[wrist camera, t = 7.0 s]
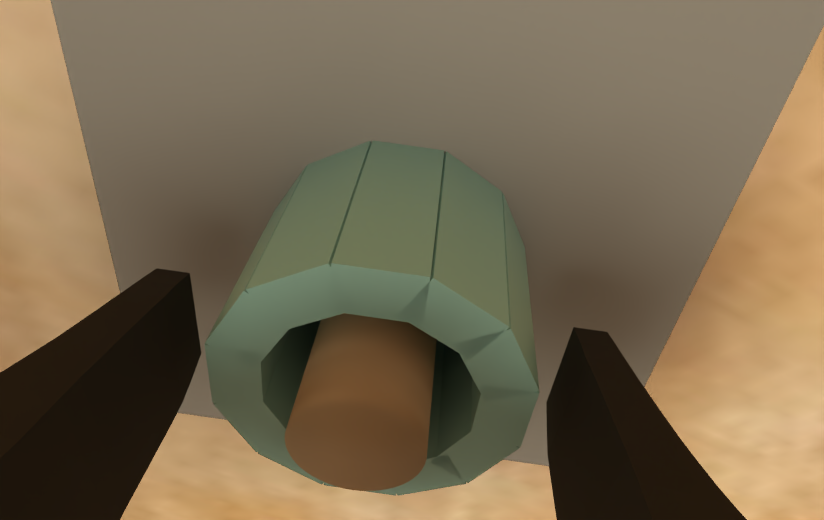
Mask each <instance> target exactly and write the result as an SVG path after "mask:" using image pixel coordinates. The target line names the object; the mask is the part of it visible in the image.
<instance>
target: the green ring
mask: <svg viewBox="0 0 824 520" xmlns="http://www.w3.org/2000/svg"><path fill="white" fill-rule="evenodd" d="M343 313H346V314H353V315H360V316H367V317H374V318H381V319H388V320H395V321H402V322H409V323H410V324H412V325H414V326H415V327H417V328H419V329H420V330H422V331H424V332H425V333H427V334H428V335H430V336H432V337H433V338H435V339H437V342H436V354H435V366H434V377H433V389H432V401H431V413H430V425H429V436H428V448H427V459H426V462H425V465H424V467H423V469H422V470H421V471H420V473H419V474H418V475H417V476H416V477H414V478H413V479H412V480H410V481H409V482H407V483H405V484H403V485H400V486H397V487H394V488H390V489H386V490H378V491H368V492H375V493H382V494H389V495H396V494H397V495H404V494H410V493H415V492H421V491H427V490H432V489H438V488H444V487H450V486H455V485H461V484H466V482H467V483H469V482H470V481H472V480H473V479H475V478H476V477H478V476H479V475H481V474H482V473H484V472H485V471H487V470H488V469H489V468H491V467H492V466H494V465H495V464H497V463H498V462H500V461H501V460H503V459H504V458H506V457H507V456H509V455H510V454H512V453H513V452H515V451H516V450H518V449H519V447H521V444H522V442H523V439H524V436H525V433H526V430H527V427H528V424H529V421H530V419H531V416H532V413H533V410H534V407H535V404H536V401H537V398H538V396H539V382H538V372H537V363H536V353H535V343H534V333H533V323H532V313H531V304H530V294H529V284H528V274H527V264H526V254H525V246H524V244H523V241H522V239H521V236H520V234H519V231H518V229H517V226H516V224H515V221H514V219H513V216H512V214H511V211H510V209H509V206H508V204H507V201H506V199H505V196H504V194H503V193H502V191H501V190H499V189H498V188H497V187H495V186H494V185H492V184H491V183H490V182H488V181H487V180H486V179H484V178H483V177H481V176H480V175H479V174H477V173H476V172H475V171H473V170H472V169H470V168H469V167H468V166H466V165H465V164H464V163H462V162H461V161H459V160H458V159H457V158H455V157H454V156H452V155H451V154H450V153H448V152H447V151H446V153H445V154H444V150H438V149H431V148H424V147H416V146H409V145H402V144H395V143H388V142H381V141H372V143H371V141H368V142H365V143H363V144H360V145H357V146H355V147H352V148H350V149H347V150H344V151H342V152H339V153H336V154H334V155H331V156H328V157H326V158H323V159H321V160H318V161H315V162H313V163H310V164H308V165H306V167H305V168H304V170H303V171H302V173H301V174H300V175H299V177H298V178H297V180H296V181H295V182H294V184H293V185H292V187H291V188H290V189H289V191H288V192H287V194H286V195H285V197H284V198H283V199H282V201H281V202H280V204H279V205H278V206H277V208H276V209H275V211H274V212H273V214H272V216H271V218H270V220H269V222H268V224H267V226H266V228H265V229H264V231H263V233H262V235H261V237H260V239H259V241H258V243H257V245H256V247H255V248H254V250H253V252H252V254H251V256H250V258H249V260H248V262H247V264H246V266H245V268H244V269H243V271H242V273H241V275H240V277H239V279H238V281H237V283H236V285H235V287H234V288H233V290H232V292H231V294H230V296H229V298H228V300H227V302H226V304H225V306H224V307H223V309H222V311H221V313H220V315H219V317H218V319H217V321H216V323H215V325H214V327H213V328H212V330H211V332H210V334H209V336H208V338H207V340H206V342H205V353H206V360H207V367H208V375H209V382H210V389H211V396H212V402H214V403H213V404H214V406H215V407H216V408H217V409H218V410H219V411H220V412H221V413H222V414H223V416H224V417H225V418H226V419H227V420H228V421H229V422H230V423H231V425H232V426H233V427H234V428H235V429H236V430H237V431H238V432H239V433H240V435H241V436H242V437H243V438H244V439H245V440H246V441H247V442H248V444H249V445H250V446H251V447H252V448H253V449H254V450H255V451H256V452H258V454H260V455H262V456H264V457H266V458H268V459H270V460H273V461H275V462H277V463H279V464H281V465H283V466H285V467H287V468H289V469H291V470H293V471H295V472H297V473H299V474H301V475H303V476H305V477H307V478H310V479H312V480H314V481H316V482H318V483H320V484H323V483H324V485H327V486H334V485H331V484H328V483H325V482H323V481H321V480H319V479H317V478H315V477H313V476H311V475H310V474H308V473H307V472H305V471H304V470H303V469H302V468H301V467H299V466H298V465H297V463H296V462H295V461H294V460H293V459H292V457H291V456H290V454H289V452H288V450H287V448H286V445H285V431H286V428H287V425H288V422H289V419H290V415H291V412H292V409H293V406H294V403H295V400H296V397H297V393H298V390H299V387H300V384H301V381H302V378H303V375H304V371H305V368H306V365H307V362H308V359H309V356H310V353H311V349H312V346H313V343H314V340H315V337H316V334H317V331H318V327H319V324H320V321H321V320H322V319H326V318H329V317H333V316H336V315H340V314H343ZM334 487H337V486H334Z"/></svg>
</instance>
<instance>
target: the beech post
mask: <svg viewBox="0 0 824 520" xmlns="http://www.w3.org/2000/svg"><path fill="white" fill-rule="evenodd" d="M436 342H437V339H435V338H433V337H432V336H430V335H428V334H427V333H425V332H424V331H422V330H420V329H419V328H417V327H415V326H414V325H412V324H410V323H409V322H402V321H395V320H388V319H381V318H374V317H367V316H360V315H353V314H346V313H343V314H340V315H336V316H333V317H329V318H326V319H322V320H321V321H320V324H319V327H318V331H317V334H316V337H315V340H314V343H313V346H312V349H311V353H310V356H309V359H308V362H307V365H306V368H305V371H304V375H303V378H302V381H301V384H300V387H299V390H298V393H297V397H296V400H295V403H294V406H293V409H292V412H291V415H290V419H289V422H288V425H287V428H286V431H285V445H286V448H287V450H288V452H289V454H290V456H291V457H292V459H293V460H294V461H295V462H296V463H297V465H298V466H299V467H301V468H302V469H303V470H304V471H305V472H307V473H308V474H310V475H311V476H313V477H315V478H317V479H319V480H321V481H323V482H325V483H328V484H331V485H334V486H337V487H341V488H345V489H351V490H359V491H378V490H386V489H390V488H394V487H397V486H400V485H403V484H405V483H407V482H409V481H410V480H412V479H413V478H414V477H416V476H417V475H418V474H419V473H420V471H421V470H422V469H423V467H424V465H425V462H426V459H427V448H428V436H429V425H430V413H431V401H432V389H433V377H434V366H435V354H436Z"/></svg>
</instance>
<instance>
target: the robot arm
mask: <svg viewBox="0 0 824 520" xmlns="http://www.w3.org/2000/svg"><path fill="white" fill-rule="evenodd" d="M200 356H201V347H200V340H199V333H198V326H197V319H196V312H195V305H194V299H193V292H192V285H191V278H190V273H187V272H180V271H172V270H165V269H158V268H156V269H155V270H153V271H152V272H150V273H149V274H147V275H146V276H144V277H143V278H142V279H140V280H139V281H137V282H136V283H134V284H133V285H132V286H130V287H129V288H127V289H126V290H124V291H123V292H122V293H120V294H119V295H117V296H116V297H115V298H113V299H112V300H110V301H109V302H108V303H106V304H105V305H103V306H102V307H100V308H99V309H98V310H96V311H95V312H93V313H92V314H90V315H89V316H87V317H86V318H84V319H83V320H82V321H80V322H79V323H77V324H76V325H74V326H73V327H71V328H70V329H68V330H67V331H65V332H64V333H63V334H61V335H60V336H58V337H57V338H55V339H54V340H52V341H50V342H49V343H47V344H46V345H44V346H42V347H41V348H39V349H38V350H36V351H34V352H33V353H31V354H30V355H28V356H26V357H25V358H23V359H22V360H20V361H18V362H17V363H15V364H14V365H12V366H10V367H9V368H7V369H6V370H4V371H2V372H1V373H0V520H120V519H121V516H122V514H123V512H124V510H125V509H126V507H127V505H128V503H129V501H130V499H131V498H132V496H133V494H134V492H135V490H136V488H137V487H138V485H139V483H140V481H141V479H142V477H143V475H144V474H145V472H146V470H147V468H148V466H149V464H150V463H151V461H152V459H153V457H154V455H155V453H156V452H157V450H158V448H159V446H160V444H161V442H162V440H163V439H164V437H165V435H166V433H167V431H168V429H169V427H170V425H171V424H172V422H173V420H174V418H175V416H176V414H177V412H178V410H179V408H180V407H181V405H182V403H183V400H184V398H185V395H186V393H187V390H188V388H189V385H190V383H191V380H192V377H193V375H194V372H195V369H196V367H197V364H198V361H199V358H200ZM546 414H547V453H548V461H549V469H550V476H551V483H552V490H553V497H554V503H555V510H556V517H557V520H747V519H746V518H745V517H744V516H743V515H742V514H741V513H740V512H739V511H738V510H737V508H736V507H735V506H734V505H733V504H732V503H731V502H730V500H729V499H728V498H727V497H726V496H725V495H724V493H723V492H722V491H721V490H720V489H719V488H718V486H717V485H716V484H715V483H714V481H713V480H712V479H711V478H710V476H709V475H708V474H707V473H706V471H705V470H704V469H703V468H702V466H701V465H700V464H699V463H698V461H697V460H696V459H695V458H694V456H693V455H692V454H691V452H690V451H689V450H688V448H687V447H686V446H685V444H684V443H683V442H682V440H681V439H680V438H679V436H678V435H677V433H676V432H675V431H674V429H673V428H672V426H671V425H670V424H669V422H668V421H667V419H666V418H665V417H664V415H663V414H662V413H661V411H660V410H659V408H658V407H657V405H656V404H655V403H654V401H653V400H652V398H651V397H650V395H649V394H648V392H647V391H646V389H645V388H644V386H643V385H642V383H641V382H640V380H639V379H638V377H637V376H636V374H635V373H634V371H633V370H632V368H631V367H630V365H629V364H628V362H627V361H626V359H625V358H624V356H623V354H622V353H621V351H620V350H619V348H618V347H617V345H616V344H615V342H614V341H613V339H612V338H611V336H610V335H609V334H608V332H605V331H597V330H590V329H583V328H576V327H573V330H572V333H571V335H570V338H569V341H568V344H567V347H566V349H565V352H564V355H563V358H562V360H561V363H560V366H559V369H558V371H557V374H556V377H555V380H554V383H553V385H552V388H551V391H550V394H549V396H548V399H547V402H546Z"/></svg>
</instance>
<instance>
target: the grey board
mask: <svg viewBox="0 0 824 520" xmlns="http://www.w3.org/2000/svg"><path fill="white" fill-rule="evenodd" d="M51 4H52V8H53V12H54V16H55V21H56V25H57V29H58V33H59V37H60V42H61V46H62V50H63V54H64V58H65V63H66V67H67V71H68V75H69V79H70V84H71V88H72V92H73V96H74V100H75V105H76V109H77V113H78V117H79V121H80V126H81V130H82V134H83V138H84V142H85V147H86V151H87V155H88V159H89V163H90V168H91V172H92V176H93V180H94V184H95V189H96V193H97V197H98V201H99V205H100V210H101V214H102V218H103V222H104V226H105V231H106V235H107V239H108V243H109V247H110V252H111V256H112V260H113V264H114V268H115V273H116V277H117V281H118V285H119V289H120V293H122V292H123V291H124V290H126V289H127V288H129V287H130V286H132V285H133V284H134V283H136V282H137V281H139V280H140V279H142V278H143V277H144V276H146V275H147V274H149V273H150V272H152V271H153V270H155V269H156V268H158V269H165V270H172V271H180V272H187V273H190V278H191V285H192V292H193V299H194V305H195V312H196V319H197V326H198V333H199V340H200V347H201V356H200V358H199V361H198V364H197V367H196V369H195V372H194V375H193V377H192V380H191V383H190V385H189V388H188V390H187V393H186V395H185V398H184V400H183V403H182V405H181V407H180V408H179V410H178V412H177V413H183V414H190V415H197V416H204V417H211V418H218V419H225V420H227V419H226V418H225V417H224V416H223V414H222V413H221V412H220V411H219V410H218V409H217V408H216V407H215V406H214V404H213V403H214V402H212V396H211V389H210V382H209V375H208V367H207V360H206V353H205V342H206V340H207V338H208V336H209V334H210V332H211V330H212V328H213V327H214V325H215V323H216V321H217V319H218V317H219V315H220V313H221V311H222V309H223V307H224V306H225V304H226V302H227V300H228V298H229V296H230V294H231V292H232V290H233V288H234V287H235V285H236V283H237V281H238V279H239V277H240V275H241V273H242V271H243V269H244V268H245V266H246V264H247V262H248V260H249V258H250V256H251V254H252V252H253V250H254V248H255V247H256V245H257V243H258V241H259V239H260V237H261V235H262V233H263V231H264V229H265V228H266V226H267V224H268V222H269V220H270V218H271V216H272V214H273V212H274V211H275V209H276V208H277V206H278V205H279V204H280V202H281V201H282V199H283V198H284V197H285V195H286V194H287V192H288V191H289V189H290V188H291V187H292V185H293V184H294V182H295V181H296V180H297V178H298V177H299V175H300V174H301V173H302V171H303V170H304V168H305V167H306V165H308V164H310V163H313V162H315V161H318V160H321V159H323V158H326V157H328V156H331V155H334V154H336V153H339V152H342V151H344V150H347V149H350V148H352V147H355V146H357V145H360V144H363V143H365V142H368V141H371V143H372V141H381V142H388V143H395V144H402V145H409V146H416V147H424V148H431V149H438V150H444V154H445V153H446V151H447V152H448V153H450V154H451V155H452V156H454V157H455V158H457V159H458V160H459V161H461V162H462V163H464V164H465V165H466V166H468V167H469V168H470V169H472V170H473V171H475V172H476V173H477V174H479V175H480V176H481V177H483V178H484V179H486V180H487V181H488V182H490V183H491V184H492V185H494V186H495V187H497V188H498V189H499V190H501V191H502V193H503V194H504V196H505V199H506V201H507V204H508V206H509V209H510V211H511V214H512V216H513V219H514V221H515V224H516V226H517V229H518V231H519V234H520V236H521V239H522V241H523V244H524V246H525V254H526V264H527V274H528V284H529V294H530V304H531V313H532V323H533V333H534V343H535V353H536V363H537V372H538V382H539V396H538V398H537V401H536V404H535V407H534V410H533V413H532V416H531V419H530V421H529V424H528V427H527V430H526V433H525V436H524V439H523V442H522V444H521V447H519V449H518V450H516V451H515V452H513V453H512V454H510V455H509V456H507V457H506V458H504V459H503V460H510V461H517V462H524V463H531V464H538V465H545V466H549V461H548V453H547V414H546V402H547V399H548V396H549V394H550V391H551V388H552V385H553V383H554V380H555V377H556V374H557V371H558V369H559V366H560V363H561V360H562V358H563V355H564V352H565V349H566V347H567V344H568V341H569V338H570V335H571V333H572V330H573V327H576V328H583V329H590V330H597V331H605V332H608V334H609V335H610V336H611V338H612V339H613V341H614V342H615V344H616V345H617V347H618V348H619V350H620V351H621V353H622V354H623V356H624V358H625V359H626V361H627V362H628V364H629V365H630V367H631V368H632V370H633V371H634V373H635V374H636V376H637V377H638V379H639V380H640V382H641V383H642V385H643V386H644V387H645V384H646V382H647V380H648V378H649V376H650V374H651V372H652V370H653V368H654V366H655V364H656V362H657V360H658V358H659V356H660V354H661V352H662V350H663V348H664V346H665V344H666V342H667V340H668V338H669V336H670V334H671V332H672V330H673V328H674V326H675V324H676V322H677V320H678V318H679V316H680V314H681V312H682V310H683V308H684V306H685V304H686V302H687V300H688V298H689V296H690V294H691V292H692V290H693V288H694V286H695V284H696V282H697V280H698V278H699V276H700V274H701V272H702V270H703V268H704V266H705V264H706V262H707V260H708V258H709V256H710V254H711V252H712V250H713V248H714V246H715V244H716V242H717V240H718V238H719V235H720V233H721V231H722V229H723V227H724V225H725V223H726V221H727V219H728V217H729V215H730V213H731V211H732V209H733V207H734V205H735V203H736V201H737V199H738V197H739V195H740V193H741V191H742V189H743V187H744V185H745V183H746V181H747V179H748V177H749V175H750V173H751V171H752V169H753V167H754V165H755V163H756V161H757V159H758V157H759V155H760V153H761V151H762V149H763V147H764V145H765V143H766V141H767V139H768V137H769V135H770V133H771V131H772V129H773V127H774V125H775V123H776V121H777V119H778V117H779V115H780V113H781V111H782V109H783V107H784V105H785V103H786V101H787V99H788V97H789V95H790V93H791V91H792V89H793V87H794V84H795V82H796V80H797V78H798V76H799V74H800V72H801V70H802V68H803V66H804V64H805V62H806V60H807V58H808V56H809V54H810V52H811V50H812V48H813V46H814V44H815V42H816V40H817V38H818V36H819V34H820V32H821V30H822V28H823V26H824V0H51Z"/></svg>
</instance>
